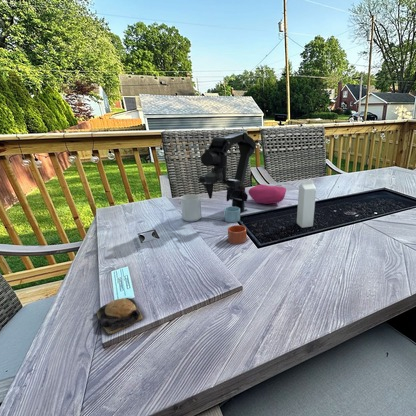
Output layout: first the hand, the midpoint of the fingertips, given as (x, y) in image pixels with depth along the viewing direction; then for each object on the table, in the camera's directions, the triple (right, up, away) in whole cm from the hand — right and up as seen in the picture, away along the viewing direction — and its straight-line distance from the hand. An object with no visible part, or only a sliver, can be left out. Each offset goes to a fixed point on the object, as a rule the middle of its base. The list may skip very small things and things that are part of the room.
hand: (218, 199), depth 121 cm
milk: (+40, -12, +6) cm, 42 cm away
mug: (-15, -9, +8) cm, 19 cm away
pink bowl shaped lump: (+20, 0, +36) cm, 41 cm away
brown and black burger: (-11, -31, -55) cm, 64 cm away
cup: (+11, -17, -13) cm, 24 cm away
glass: (+5, -9, +8) cm, 13 cm away
